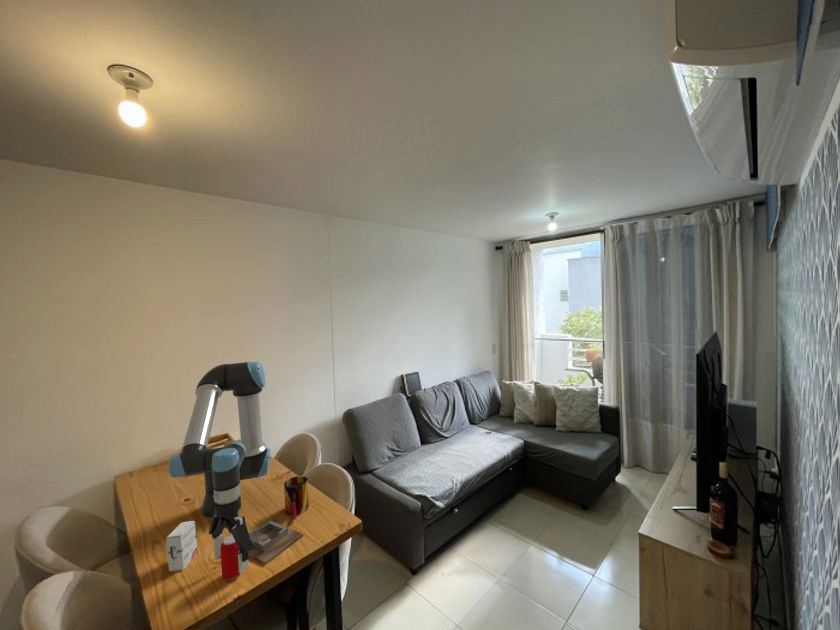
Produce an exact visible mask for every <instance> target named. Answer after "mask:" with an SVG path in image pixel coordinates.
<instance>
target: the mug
mask: <svg viewBox="0 0 840 630" xmlns="http://www.w3.org/2000/svg"><path fill="white" fill-rule="evenodd" d="M283 489H284V509H285V514H286V515H287V516H291V517H292V521H293V520H296V519H297V516H298V515H302V514H303V513H305V512H307V511H308V510H309V506H310V501H309V499H310V498H309V483H308V477H306V476H303V475H299V476H298V475H297V476H293V477H290V478H288V479H287V480H285V481H284V483H283Z"/></svg>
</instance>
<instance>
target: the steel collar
mask: <svg viewBox="0 0 840 630" xmlns="http://www.w3.org/2000/svg"><path fill="white" fill-rule="evenodd" d="M272 521H273V520H271V521H269V522H267V523H266V524H264V525H263V526H261V527H260V528H258V529H257V530H255V531H253V532H252V533H250V534H249V536H250V539H251V542H252V545H253V547H254V548H256V549H258V550H260V551H262V552H265V551H266V550H268V549H269V548H271V547H272V546H273V545H275V544H276V543H277V542H279V541H280V540H282V539H283V538H284V537H286V536H287V535H288V528H289V527H288V526H285V525H283V524H281V525H279V524H280V523H278V522H276V521H273V522H272ZM275 522H276V523H275ZM277 523H278V524H277ZM282 525H283V526H282ZM284 526H285V527H284ZM287 527H288V528H287ZM268 530H272V531H274V532H276V534H274V535H273V536H271V537H270V539H268V540H267V541H265V542H262V541H260V540H258V539H257V538H258V537H260V536H261V535H262V534H264V533H265V532H267V531H268Z"/></svg>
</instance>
